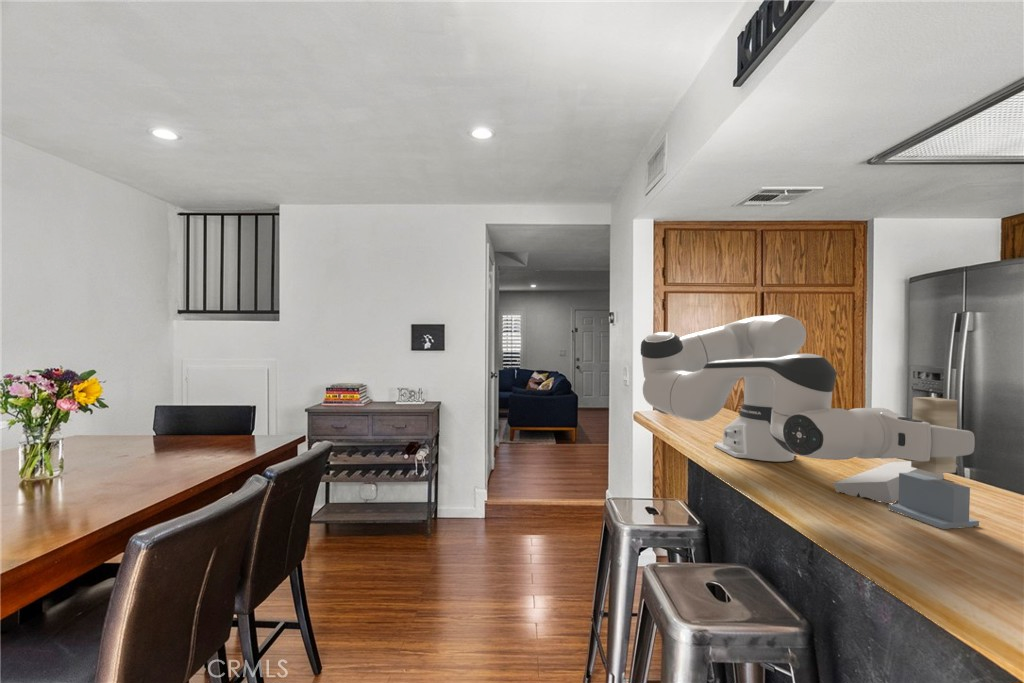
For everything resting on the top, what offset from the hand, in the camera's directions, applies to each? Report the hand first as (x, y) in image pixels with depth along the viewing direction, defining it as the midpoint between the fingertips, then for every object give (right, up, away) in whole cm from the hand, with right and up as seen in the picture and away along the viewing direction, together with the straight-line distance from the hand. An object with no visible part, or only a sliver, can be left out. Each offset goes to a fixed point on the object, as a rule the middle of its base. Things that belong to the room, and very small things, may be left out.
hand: (938, 431), depth 94 cm
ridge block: (-1, -16, 0) cm, 16 cm away
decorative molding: (+8, -17, +22) cm, 29 cm away
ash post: (-1, -7, 0) cm, 7 cm away
